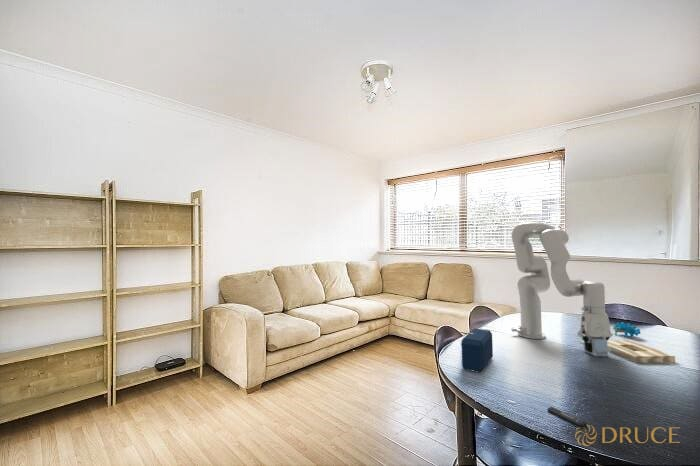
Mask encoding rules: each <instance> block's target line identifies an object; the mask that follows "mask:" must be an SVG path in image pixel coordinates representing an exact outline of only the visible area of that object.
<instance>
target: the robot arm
mask: <svg viewBox="0 0 700 466" xmlns="http://www.w3.org/2000/svg"><path fill="white" fill-rule="evenodd" d="M529 239H539V241H540V243H541V245H542V248H543V249H544V250H545V252H546V255H547V257H548V259H549V261H550V273H549V268H548V263H547V261H546V260H545V257H543V256H541V255H539V254H534V251H533V245H532V243H531V242H530V240H529ZM511 240H512V244H513V248H514V253H515V254H514V255H515V261H516V265H517V268H518V270H519V272H521V273H523V274H530V275H525V276H522V277H520V278H519V279H518V281H517V290H518V293H519V294H518V295H519V304H520V306H519V309H520V312H519V313H520V325H518V327H512V328H511V331H512V332H514V333H515V332H516V333H517V335H519V336H520V337H522V338H526V339H533V340H542V339H545V338H546V334H545V333H544V332H543V327H542V304H541V303H542V301H541V299H540V295H539V294H540V293H546V292H547V291H549V289H550V288H551V280H552V283H553V284H554V286H555V288H556V290H557V291H558V293H560V295H561V296H563V297H567V298H571V297H580V296H582V299H583V300H582V302H583V306H582V307H581V308H580V309H581V311H583V312H582V313H581V318H580V330H579V331H578V332H577V334H576V335H577V336H578V337H579V338H581V339H582V341H585V350H586V351H588V352H592V343H591V339H592V337H601V338H604V339H606V340H607V341H609V340H610V339H611V338H612V337H613V336H614V333H612V331H611V325H610V324H611V323H610V319H609V316H608V314H607V313H606V296H605V295H606V294H605V293H606V292H605V290H606V289H605V288H606V287H605V284H604V283H602V282H598V281H588V280H585V279H584V280H583V279H581V278H580V279H579V278H577V279H575V278H574V279H571V278H570V277H569V275H568V271H567V264H568V262H569V260H571V254H570V252H569V251H568V249H567V246H566V245H567V244H568V243H569V235H568V233H567V232H566V231H565V230H563V229H561V228H558V227H556V226H552V225H549V224H547V223H544V222H536V221H535V222H532V221H531V222H528V221H526V222H525V221H524V222H521V223H518V224H516V226H514V228H513V230H512V231H511ZM550 277H551V278H550ZM550 279H551V280H550ZM583 335H584V336H583ZM587 338H588V339H587ZM586 351H585V352H586ZM588 352H587V353H588Z"/></svg>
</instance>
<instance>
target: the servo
mask: <svg viewBox="0 0 700 466" xmlns="http://www.w3.org/2000/svg"><path fill="white" fill-rule="evenodd" d="M584 335H585V334H583V336H584ZM587 339H588V338H587ZM579 343H580V344H582V345H583V351H584V352H586V353H588V354H589V355H592V356H595V357H608V353H611V350H610V349H608V348H607V340H606V339H604V338H601V337H592V339H591V343H592V352H588V351H586V350H585V341H583V340H581V341H580V342H579Z"/></svg>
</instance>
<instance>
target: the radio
mask: <svg viewBox="0 0 700 466" xmlns="http://www.w3.org/2000/svg"><path fill="white" fill-rule="evenodd" d="M493 349H494V348H493V333H492V332H491V330H488V329H481V328H476V327H475V328H472V329H471V330H470V332H469V333H467V335H465V336H464V337H463V338H462V340H461V364H462V368H463V369H464V368H465V369H464V370H467V369H469V370H468V371H471V370H474V371H473V372H476V371H478V372H477V373H480V372H482V373H483V372H484V371H485V370H486V368H487V367H488V365H489V364H490V362H491V360H492V358H493V357H494V355H493V354H494V352H493Z"/></svg>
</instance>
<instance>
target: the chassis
mask: <svg viewBox="0 0 700 466" xmlns="http://www.w3.org/2000/svg"><path fill="white" fill-rule="evenodd" d="M607 348H608V349H610V350H611V352H610V353H611V354H614V355H616V356H618V357H621V358H623V359H625V360H628V361H630V362H632V363H635V364H636V363H637V364H641V363H642V364H643V363H644V364H645V363H647V364H648V363H650V364H651V363H653V364H654V363H658V364H659V363H661V364H662V363H664V364H665V363H676V356H675V355H673V354H670V353H667V352H665V351H663V350H659V349H657V348H654V347H651V346H648V345H645V344H643V343H640V342H638V341H634V340H631V339H627V340H626V339H625V340H621V339H620V340H614V339H613V340H610V339H609V340H608V341H607Z"/></svg>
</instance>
